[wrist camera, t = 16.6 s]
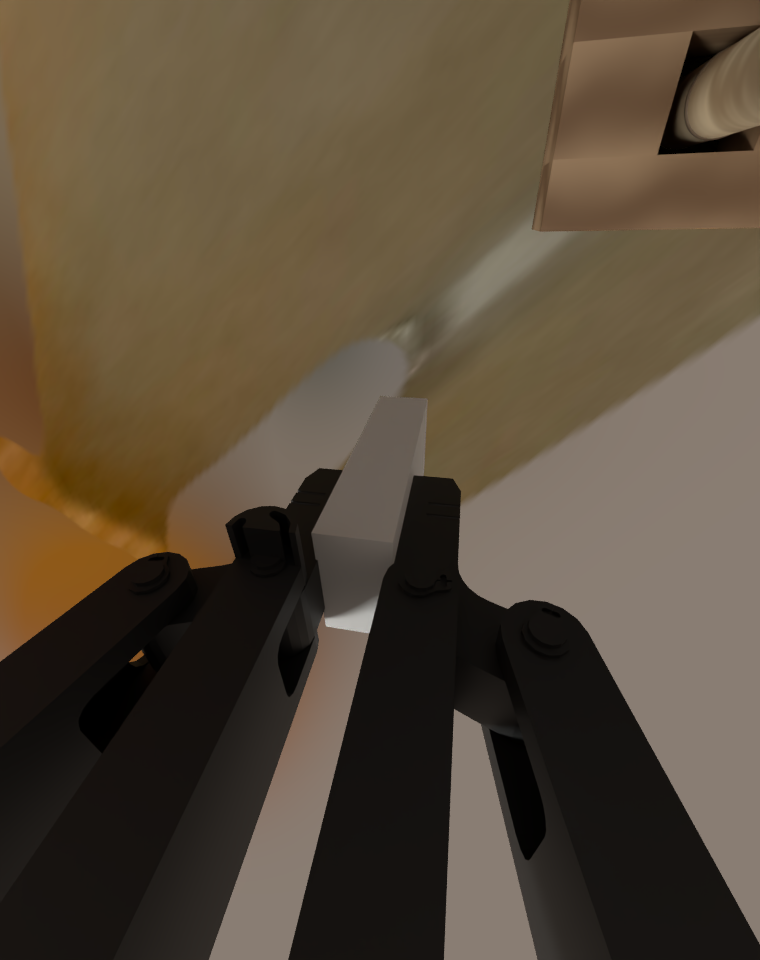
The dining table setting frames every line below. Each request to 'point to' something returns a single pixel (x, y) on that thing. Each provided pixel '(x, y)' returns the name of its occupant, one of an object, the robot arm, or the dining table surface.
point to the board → (642, 122)
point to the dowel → (717, 97)
